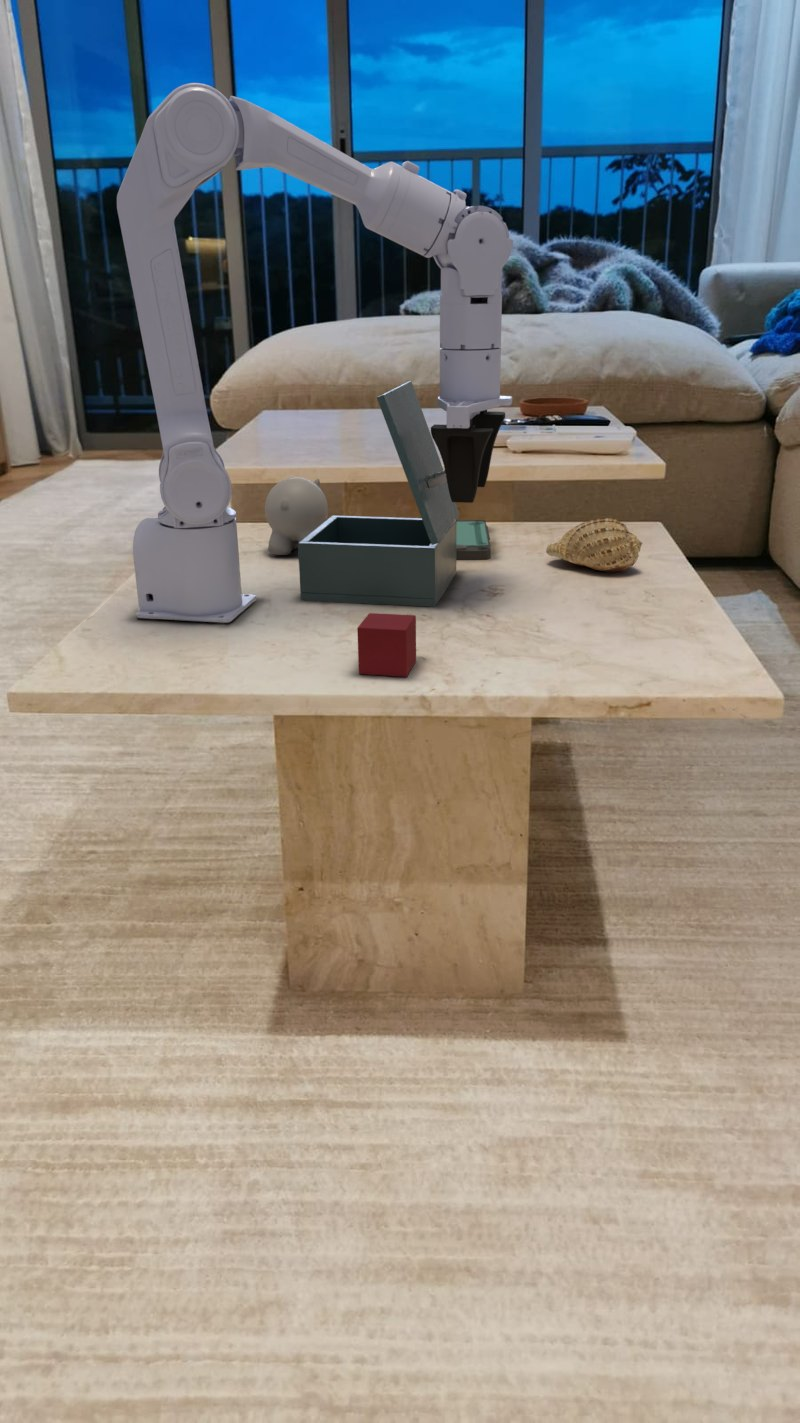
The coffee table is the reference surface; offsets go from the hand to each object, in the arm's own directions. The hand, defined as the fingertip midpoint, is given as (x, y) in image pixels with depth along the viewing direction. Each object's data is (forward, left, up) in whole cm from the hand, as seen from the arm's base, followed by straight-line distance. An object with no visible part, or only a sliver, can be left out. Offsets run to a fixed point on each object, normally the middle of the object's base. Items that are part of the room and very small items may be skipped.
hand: (468, 493), depth 105 cm
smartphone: (-4, +19, -10) cm, 22 cm away
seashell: (+12, +11, -10) cm, 19 cm away
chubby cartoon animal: (-22, +15, -10) cm, 28 cm away
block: (-3, -24, -10) cm, 26 cm away
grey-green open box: (-9, 0, -10) cm, 13 cm away
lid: (-5, 0, +3) cm, 6 cm away
